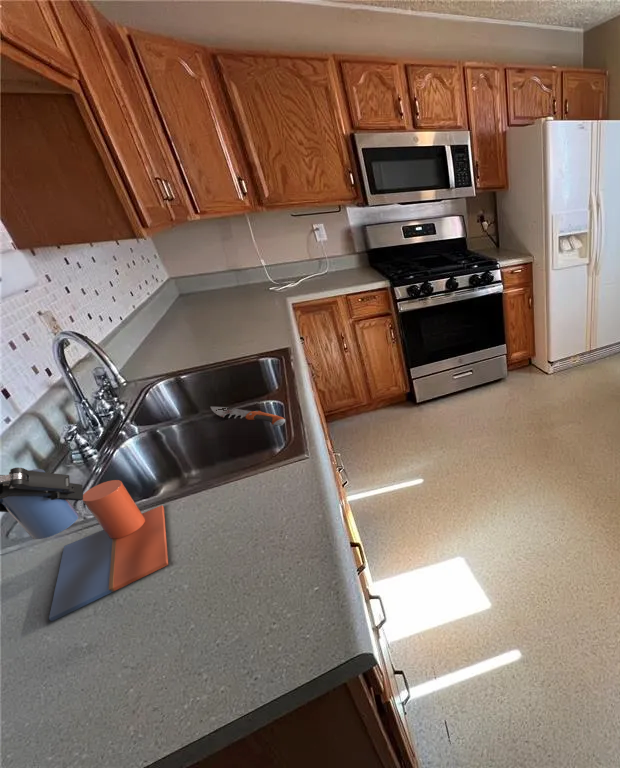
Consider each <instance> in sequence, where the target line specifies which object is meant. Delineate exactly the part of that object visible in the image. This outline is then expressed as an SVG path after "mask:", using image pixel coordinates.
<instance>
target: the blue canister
mask: <svg viewBox="0 0 620 768" xmlns="http://www.w3.org/2000/svg"><path fill="white" fill-rule="evenodd" d="M28 470H29V471H37V472H46V471H45V470H44V469H41V468H35V469H28ZM0 503H1V504H2V505H3V506H4V507H5V508H6V509H7V510H8V511H9V512H8V513H9V514H10V515H11V517H13V518H14V519H15V520H16V522H17V523H18V524H19V525H20V526H21V528H23V530H24V531H25V532H26V533H27V534H28V535H29V536H30V538H32V539H33V540H42V539H46V538H50V537H52V536H56V535H57V534H59V533H61V532H64V531H65V530H67V529H68V528H70V527H71V526H72V525H73V524H74V523H76V522H77V521H78V519H79V516H80V515H79V513H78V512H77V510H76V509H75V508H74V507H73V505H72V504H71V503H70V502H69V500H63V499H56V500H51V498H48V496H8V497H6V498H3V499H0Z"/></svg>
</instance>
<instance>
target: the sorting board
mask: <svg viewBox="0 0 620 768" xmlns="http://www.w3.org/2000/svg"><path fill="white" fill-rule="evenodd" d="M141 513H142V512H141ZM142 515H143V516H144V518H145V522H144V524H143V525H142V526H141V527H140V528H139V529H138V530H136V531H135V532H133V533H131V534H129V535H127V536H125V537H121V538H117V539H112V538H109V537H108V535H107V534H106V532H105V531H104V530H103V529H101V530H99V531H97V532H95V533H92V534H89V535H87V536H85V537H82V538H80V539H78V540H75V541H72V542H71V543H68V544H66V545H64V546H63V549H62V555H61V560H60V564H59V569H58V573H57V579H56V584H55V586H54V587H55V588H54V592H53V597H52V602H51V606H50V612H49V616H48V619H49V621H50V622H54V621H56V620H58V619H60V618H62V617H64V616H66V615H68V614H70V613H73V612H74V611H76V610H79V609H82V607H85V606H87V605H89V604H91V603H93V602H95V601H97V600H99V599H101V598H103V597H105V596H107V595H109V594H111V593H113V592H116V591H117V590H120V589H122V588H125V587H126V586H128V585H130V584H133V583H134V582H136V581H138V580H140V579H143V578H144V577H147V576H148V575H151V574H153V573H154V572H157V571H159V570H161V569H163V568H165V567H168V566H169V557H168V555H169V554H168V543H167V532H166V531H167V530H166V518H165V517H166V516H165V507H164V506H163V505H159V506H157V507H154V508H152V509H150V510H147V511H145V512H143V513H142Z"/></svg>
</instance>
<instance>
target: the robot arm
mask: <svg viewBox="0 0 620 768" xmlns="http://www.w3.org/2000/svg"><path fill="white" fill-rule="evenodd" d="M29 470H30V469H26V468H24V467H13V468H10V471H9V472H8V474H0V499H3V498H6V497H8V496H48V498H51V500H56V499H63V500H68V501H75V502H76V501H78V502H79V501H83V495H84V490H83V489H84V487H83V484H80V483H79V484H78V483H73V482H70V481H71V479H70V474H63V473H53V472H46V471H45V472H37V471H29ZM0 513H9V511H8V510H7V509H6V508H5V507H4V506H3V505H2V504H1V503H0Z"/></svg>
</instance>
